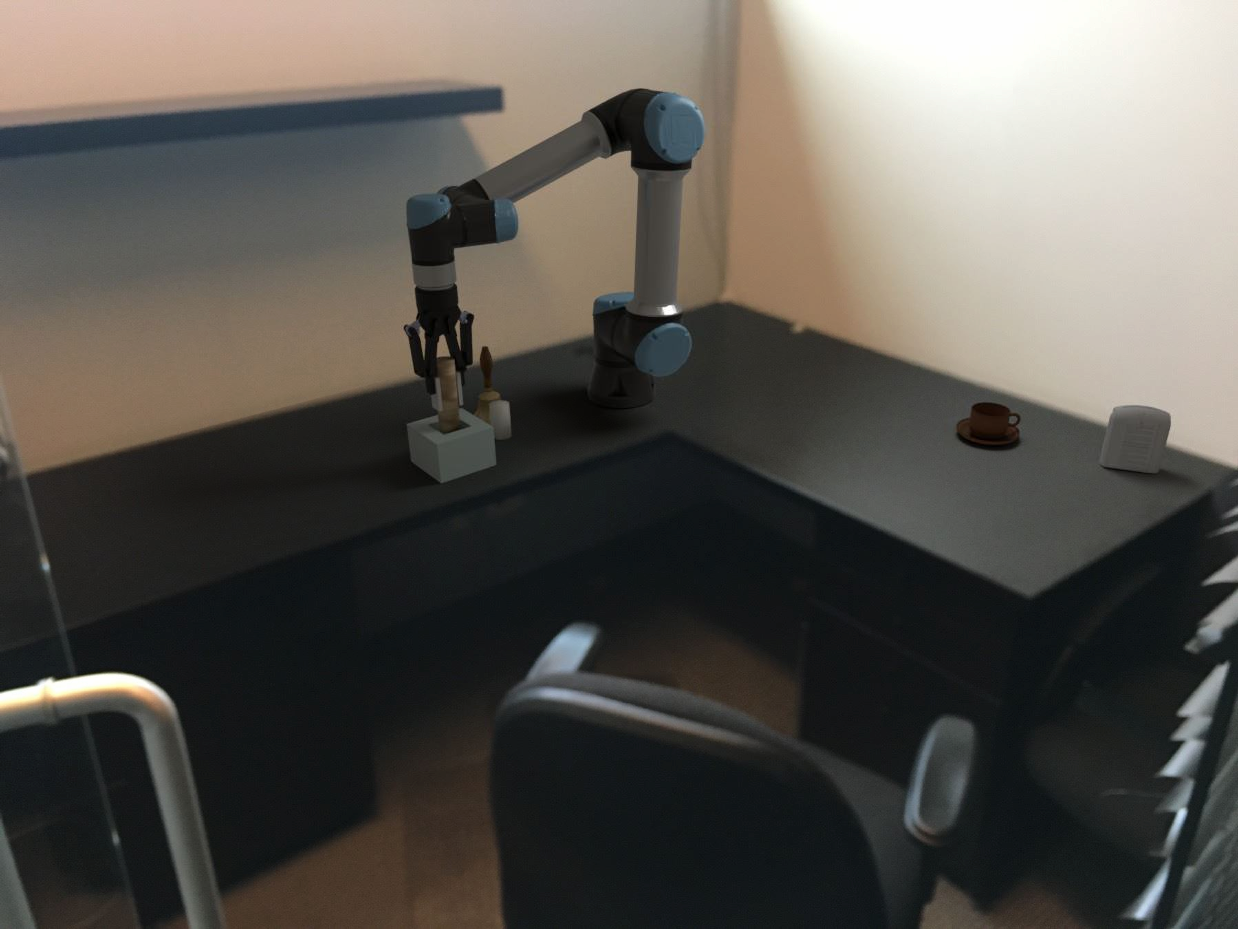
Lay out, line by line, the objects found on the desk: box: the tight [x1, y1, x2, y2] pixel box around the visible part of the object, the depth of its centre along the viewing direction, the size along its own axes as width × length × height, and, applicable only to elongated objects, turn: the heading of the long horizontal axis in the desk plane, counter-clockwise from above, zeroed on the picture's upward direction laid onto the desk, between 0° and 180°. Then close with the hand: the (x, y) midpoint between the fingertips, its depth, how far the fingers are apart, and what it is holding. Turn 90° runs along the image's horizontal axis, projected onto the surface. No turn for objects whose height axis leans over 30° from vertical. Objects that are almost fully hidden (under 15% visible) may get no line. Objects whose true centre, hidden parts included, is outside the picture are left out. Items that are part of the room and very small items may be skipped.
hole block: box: [406, 407, 497, 484], centre depth 191 cm, size 12×12×8 cm
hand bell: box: [473, 345, 512, 425], centre depth 209 cm, size 8×8×16 cm
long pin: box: [435, 355, 461, 434], centre depth 187 cm, size 4×4×14 cm
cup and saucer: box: [955, 401, 1022, 446], centre depth 199 cm, size 12×12×6 cm
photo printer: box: [1098, 404, 1172, 474], centre depth 184 cm, size 10×4×12 cm, turn 70°
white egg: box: [489, 399, 512, 441], centre depth 203 cm, size 4×4×7 cm
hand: (447, 405), depth 188 cm, fingers closed on long pin, 4 cm apart
